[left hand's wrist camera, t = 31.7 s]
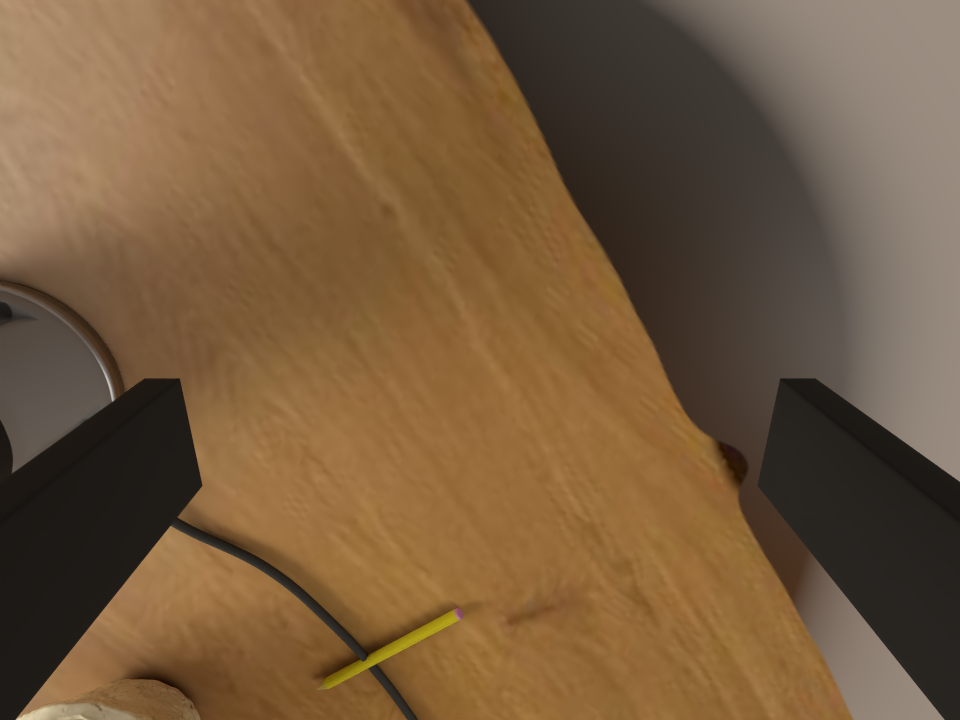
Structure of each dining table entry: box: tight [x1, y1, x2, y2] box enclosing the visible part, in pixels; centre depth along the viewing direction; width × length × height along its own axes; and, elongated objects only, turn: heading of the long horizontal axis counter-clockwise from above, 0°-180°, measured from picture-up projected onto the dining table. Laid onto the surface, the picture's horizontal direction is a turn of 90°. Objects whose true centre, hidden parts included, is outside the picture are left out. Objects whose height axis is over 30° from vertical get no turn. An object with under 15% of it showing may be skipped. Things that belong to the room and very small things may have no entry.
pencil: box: [316, 608, 463, 690], centre depth 51 cm, size 16×1×1 cm, turn 124°
